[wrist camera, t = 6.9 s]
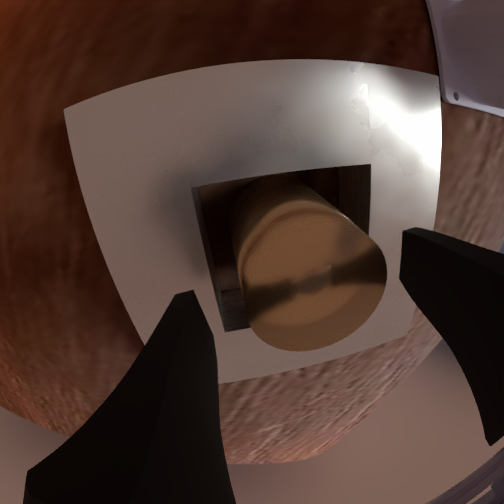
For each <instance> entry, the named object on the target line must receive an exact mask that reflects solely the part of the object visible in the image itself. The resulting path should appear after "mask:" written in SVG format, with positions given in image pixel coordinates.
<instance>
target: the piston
mask: <svg viewBox="0 0 504 504" xmlns="http://www.w3.org/2000/svg"><path fill="white" fill-rule="evenodd" d="M229 230H230V235H231V241H232V246H233V251H234V256H235V261H236V266H237V271H238V276H239V281H240V286H241V291H242V296H243V300H244V305H245V310H246V315H247V319H248V322H249V325H250V326H251V328H252V330H253V332H254V333H255V334H256V335H257V336H258V337H259V338H260V339H261V340H262V341H264V342H265V343H267V344H268V345H270V346H273V347H275V348H278V349H281V350H286V351H297V352H300V351H311V350H316V349H320V348H324V347H327V346H330V345H332V344H334V343H337V342H339V341H341V340H342V339H344V338H346V337H347V336H349V335H350V334H352V333H353V332H355V331H356V330H357V329H358V328H360V327H361V326H362V325H363V324H364V323H365V322H366V321H367V320H368V318H369V317H370V316H371V315H372V313H373V312H374V311H375V309H376V308H377V306H378V304H379V303H380V301H381V298H382V296H383V294H384V290H385V287H386V282H387V264H386V260H385V257H384V255H383V252H382V250H381V249H380V247H379V246H378V245H377V244H376V243H375V242H374V241H373V240H372V239H371V238H370V237H369V236H368V235H367V234H366V233H365V232H363V231H362V230H361V229H360V228H359V227H358V226H356V225H355V224H354V223H353V222H352V221H351V220H349V219H348V218H347V217H346V216H345V215H343V214H342V213H341V212H340V211H339V210H337V209H336V208H335V207H334V206H333V205H331V204H330V203H329V202H328V201H326V200H325V199H324V198H323V197H321V196H320V195H319V194H318V193H316V192H315V191H314V190H312V189H311V188H310V187H309V186H307V185H306V184H305V183H303V182H302V181H300V180H298V179H296V178H294V177H291V176H287V175H269V176H265V177H262V178H259V179H257V180H255V181H253V182H251V183H250V184H249V185H247V186H246V187H245V188H244V189H243V190H242V191H241V192H240V193H239V194H238V196H237V197H236V199H235V200H234V202H233V204H232V207H231V210H230V213H229Z"/></svg>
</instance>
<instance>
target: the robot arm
mask: <svg viewBox="0 0 504 504" xmlns="http://www.w3.org/2000/svg"><path fill="white" fill-rule="evenodd" d="M426 4H427V8H428V12H429V16H430V20H431V25H432V29H433V34H434V40H435V45H436V52H437V58H438V66H439V75H440V85H441V95H442V98H443V100H444V101H445V102H446V103H450V104H455V105H459V106H464V107H468V108H472V109H476V110H480V111H484V112H487V113H491V114H494V115H498V116H501V117H504V0H426ZM453 95H454V96H453ZM399 280H400V281H401V283H402V285H403V286H404V288H405V290H406V291H407V293H408V294H409V296H410V297H411V299H412V300H413V301H414V303H415V304H416V305H417V306H418V308H419V309H420V310H421V311H422V313H423V314H424V315H425V316H426V317H427V319H428V320H429V321H430V322H431V324H432V325H433V326H434V327H435V329H436V330H437V331H438V332H439V334H440V335H441V336H442V337H443V339H444V340H445V341H446V343H447V344H448V346H449V347H450V349H451V350H452V352H453V354H454V355H455V357H456V359H457V361H458V362H459V364H460V366H461V368H462V370H463V372H464V374H465V376H466V379H467V381H468V383H469V385H470V387H471V390H472V393H473V395H474V398H475V401H476V403H477V406H478V409H479V413H480V416H481V420H482V424H483V428H484V433H485V438H486V440H487V442H488V444H489V446H492V445H493V444H494V443H496V442H497V441H498V440H499V439H500V438H502V437H503V436H504V254H502V253H498V252H495V251H492V250H489V249H486V248H483V247H480V246H477V245H474V244H471V243H468V242H465V241H462V240H459V239H456V238H453V237H450V236H447V235H444V234H441V233H438V232H435V231H431V230H427V229H423V228H419V227H413V228H410V229H407V230H404V231H402V246H401V260H400V272H399ZM491 484H492V485H491ZM489 485H491V488H492V489H491V490H490V491H489V492H487V493H486V494H485V495H483V496H482V497H481V498H479V499H478V500H476V501H475V502H473V503H472V504H504V447H503V448H502V449H501V450H500V451H499V452H497V453H496V454H495V455H494V456H493V457H492V458H491V459H489V460H488V461H487V462H486V463H485V464H483V465H482V466H481V467H480V468H478V469H477V470H476V471H474V472H473V473H472V474H470V475H469V476H468V477H466V478H465V479H464V480H462V481H461V482H459V483H458V484H457V485H455V486H454V487H452V488H451V489H449V490H448V491H446V492H445V493H443V494H441V495H440V496H438V497H436V498H435V499H433V500H431V501H430V502H428V503H426V504H466V503H467V502H468V501H470V500H471V499H473V498H474V497H476V496H477V495H478V494H479V493H481V492H482V491H483V490H484V489H486V488H487V487H488V486H489ZM23 504H236V502H235V498H234V494H233V490H232V486H231V483H230V479H229V473H228V469H227V464H226V459H225V454H224V448H223V443H222V437H221V430H220V418H219V392H218V362H217V355H216V348H215V342H214V335H213V333H212V331H211V328H210V326H209V324H208V322H207V319H206V317H205V315H204V313H203V310H202V308H201V306H200V304H199V301H198V299H197V297H196V294H195V292H194V290H190V291H186V292H182V293H178V294H175V296H174V297H173V299H172V300H171V302H170V304H169V305H168V307H167V309H166V311H165V312H164V314H163V316H162V318H161V319H160V321H159V323H158V324H157V326H156V328H155V329H154V331H153V333H152V335H151V336H150V338H149V340H148V341H147V343H146V344H145V346H144V347H143V349H142V350H141V352H140V354H139V355H138V357H137V358H136V360H135V361H134V363H133V364H132V366H131V367H130V369H129V370H128V372H127V373H126V375H125V376H124V377H123V379H122V380H121V381H120V383H119V384H118V385H117V387H116V388H115V389H114V390H113V392H112V393H111V394H110V395H109V397H108V398H107V399H106V400H105V401H104V403H103V404H102V405H101V406H100V407H99V408H98V409H97V410H96V411H95V413H94V414H93V415H92V416H91V417H90V418H89V419H88V420H87V421H86V423H85V424H84V425H83V426H82V427H81V428H80V429H78V430H77V431H76V432H75V433H74V434H73V435H72V436H71V437H70V438H69V439H68V440H67V441H66V442H65V443H64V444H62V445H61V446H60V447H59V448H58V449H56V450H55V451H54V452H53V453H51V454H50V455H49V456H47V457H46V458H45V459H43V460H42V461H41V462H39V463H38V464H37V465H35V466H34V467H33V468H31V469H30V470H28V472H27V476H26V483H25V491H24V499H23Z"/></svg>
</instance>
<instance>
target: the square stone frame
mask: <svg viewBox="0 0 504 504" xmlns="http://www.w3.org/2000/svg"><path fill="white" fill-rule="evenodd" d="M64 115H65V121H66V127H67V132H68V137H69V142H70V147H71V151H72V156H73V160H74V164H75V168H76V172H77V176H78V180H79V183H80V187H81V191H82V194H83V197H84V201H85V204H86V207H87V211H88V214H89V217H90V220H91V223H92V226H93V229H94V232H95V234H96V237H97V240H98V243H99V246H100V248H101V251H102V253H103V256H104V259H105V261H106V264H107V266H108V269H109V271H110V274H111V276H112V278H113V281H114V283H115V285H116V288H117V290H118V292H119V294H120V297H121V299H122V301H123V303H124V305H125V307H126V310H127V312H128V314H129V316H130V318H131V320H132V322H133V324H134V326H135V328H136V330H137V332H138V334H139V336H140V338H141V340H142V341H143V343H144V345H145V344H146V343H147V341H148V340H149V338H150V336H151V335H152V333H153V331H154V329H155V328H156V326H157V324H158V323H159V321H160V319H161V318H162V316H163V314H164V312H165V311H166V309H167V307H168V305H169V304H170V302H171V300H172V299H173V297H174V296H175V294H178V293H182V292H186V291H190V290H194V292H195V294H196V297H197V299H198V301H199V304H200V306H201V308H202V310H203V313H204V315H205V317H206V319H207V322H208V324H209V326H210V328H211V331H212V333H213V335H214V342H215V348H216V355H217V362H218V384H221V383H227V382H234V381H240V380H245V379H251V378H256V377H262V376H267V375H272V374H276V373H281V372H286V371H290V370H294V369H298V368H303V367H307V366H311V365H314V364H318V363H322V362H326V361H329V360H333V359H336V358H340V357H343V356H347V355H350V354H353V353H356V352H359V351H363V350H366V349H369V348H372V347H375V346H378V345H380V344H383V343H386V342H389V341H392V340H394V339H397V338H400V337H402V336H405V335H407V333H408V330H409V327H410V324H411V321H412V318H413V314H414V311H415V308H416V304H415V303H414V301H413V300H412V299H411V297H410V296H409V294H408V293H407V291H406V290H405V288H404V286H403V285H402V283H401V281H400V280H399V272H400V260H401V246H402V231H404V230H407V229H410V228H413V227H419V228H423V229H427V230H431V231H433V228H434V222H435V215H436V207H437V199H438V189H439V177H440V162H441V103H440V88H439V77H438V76H436V75H432V74H428V73H424V72H419V71H414V70H409V69H404V68H399V67H393V66H386V65H379V64H372V63H363V62H353V61H340V60H318V59H286V60H264V61H251V62H240V63H231V64H223V65H216V66H209V67H203V68H197V69H192V70H187V71H182V72H177V73H172V74H168V75H164V76H159V77H155V78H152V79H148V80H144V81H140V82H137V83H134V84H130V85H127V86H124V87H121V88H117V89H114V90H111V91H109V92H106V93H103V94H100V95H97V96H95V97H92V98H89V99H87V100H84V101H82V102H79V103H77V104H75V105H72V106H70V107H68V108H65V109H64ZM328 167H338V185H339V211H340V212H341V213H342V214H343V215H345V216H346V217H347V218H348V219H349V220H351V221H352V222H353V223H354V224H355V225H356V226H358V227H359V228H360V229H361V230H362V231H363V232H365V233H366V234H367V235H368V236H369V237H370V238H371V239H372V240H373V241H374V242H375V243H376V244H377V245H378V246H379V247H380V249H381V250H382V252H383V255H384V257H385V260H386V264H387V282H386V287H385V290H384V294H383V296H382V298H381V301H380V303H379V304H378V306H377V308H376V309H375V311H374V312H373V313H372V315H371V316H370V317H369V318H368V320H367V321H366V322H365V323H364V324H363V325H362V326H361V327H360V328H358V329H357V330H356V331H355V332H353V333H352V334H350V335H349V336H347V337H346V338H344V339H342V340H341V341H339V342H337V343H334V344H332V345H330V346H327V347H324V348H320V349H316V350H311V351H300V352H297V351H286V350H281V349H278V348H275V347H273V346H270V345H268V344H267V343H265V342H264V341H262V340H261V339H260V338H259V337H258V336H257V335H256V334H255V333H254V332H253V330H252V328H251V326H250V325H249V322H248V319H247V315H246V310H245V305H244V300H243V296H242V291H241V289H236V290H231V291H225V292H221V291H220V287H219V282H218V278H217V274H216V269H215V265H214V260H213V256H212V251H211V247H210V242H209V237H208V233H207V228H206V223H205V218H204V214H203V209H202V204H201V199H200V194H199V188H198V186H203V185H208V184H213V183H219V182H225V181H231V180H237V179H243V178H249V177H256V176H262V175H269V174H277V173H284V172H292V171H300V170H309V169H318V168H328Z"/></svg>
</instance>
